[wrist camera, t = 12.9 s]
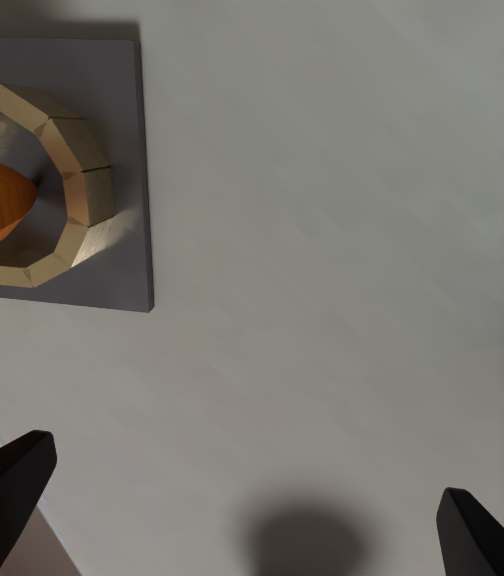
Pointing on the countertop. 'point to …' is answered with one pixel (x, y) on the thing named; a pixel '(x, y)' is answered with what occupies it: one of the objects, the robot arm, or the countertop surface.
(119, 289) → the collar plate
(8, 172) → the carrot
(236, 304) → the countertop surface
